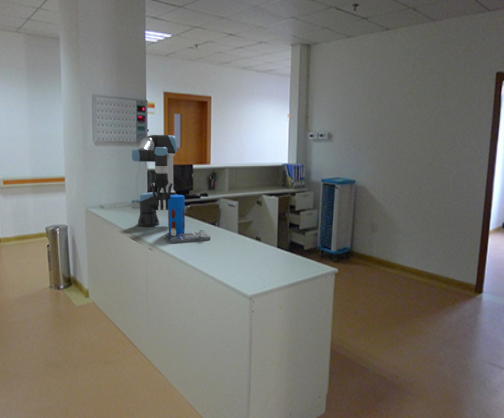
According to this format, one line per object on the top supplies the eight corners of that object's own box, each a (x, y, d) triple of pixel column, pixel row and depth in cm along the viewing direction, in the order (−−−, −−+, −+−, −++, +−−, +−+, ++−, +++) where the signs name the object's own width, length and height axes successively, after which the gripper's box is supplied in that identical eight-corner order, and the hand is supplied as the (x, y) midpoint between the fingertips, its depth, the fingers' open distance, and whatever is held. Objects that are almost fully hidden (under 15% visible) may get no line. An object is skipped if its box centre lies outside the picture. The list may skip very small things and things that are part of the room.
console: (164, 238, 255) (164, 234, 255) (203, 234, 266) (203, 231, 266) (169, 243, 242) (169, 240, 242) (210, 240, 253) (210, 237, 253)
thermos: (181, 235, 264) (180, 197, 260) (165, 233, 267) (165, 196, 262) (187, 231, 275) (186, 195, 270) (172, 230, 277) (171, 194, 273)
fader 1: (170, 234, 255) (170, 228, 254) (174, 234, 256) (174, 227, 255) (172, 236, 252) (172, 229, 251) (176, 235, 253) (175, 229, 252)
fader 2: (199, 235, 254) (199, 229, 253) (202, 235, 255) (202, 228, 254) (200, 237, 251) (200, 230, 250) (204, 236, 252) (204, 230, 251)
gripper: (149, 173, 237) (150, 212, 242) (175, 173, 244) (175, 211, 248) (147, 172, 244) (148, 210, 248) (172, 172, 251) (173, 209, 255)
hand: (162, 210), depth 248 cm, fingers open, 3 cm apart
